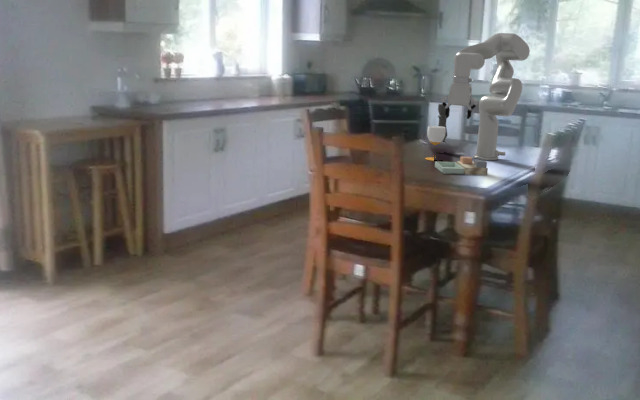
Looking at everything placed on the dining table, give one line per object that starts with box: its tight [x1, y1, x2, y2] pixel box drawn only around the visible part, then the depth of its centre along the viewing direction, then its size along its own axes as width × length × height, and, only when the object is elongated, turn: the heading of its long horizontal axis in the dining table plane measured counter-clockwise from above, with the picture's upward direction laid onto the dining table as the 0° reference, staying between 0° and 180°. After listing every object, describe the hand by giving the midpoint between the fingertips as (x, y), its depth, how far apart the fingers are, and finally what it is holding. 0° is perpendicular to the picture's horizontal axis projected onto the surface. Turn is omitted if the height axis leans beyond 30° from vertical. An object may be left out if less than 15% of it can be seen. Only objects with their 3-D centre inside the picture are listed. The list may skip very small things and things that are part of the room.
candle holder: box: [437, 103, 449, 143], centre depth 352 cm, size 6×6×25 cm
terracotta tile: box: [459, 155, 474, 164], centre depth 309 cm, size 4×4×2 cm
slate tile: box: [473, 159, 488, 168], centre depth 300 cm, size 4×4×2 cm
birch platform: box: [456, 160, 488, 176], centre depth 305 cm, size 10×16×3 cm, turn 3°
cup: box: [424, 125, 447, 162], centre depth 330 cm, size 9×9×16 cm
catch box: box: [434, 161, 465, 175], centre depth 305 cm, size 10×16×2 cm, turn 3°
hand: (457, 117), depth 314 cm, fingers open, 9 cm apart
